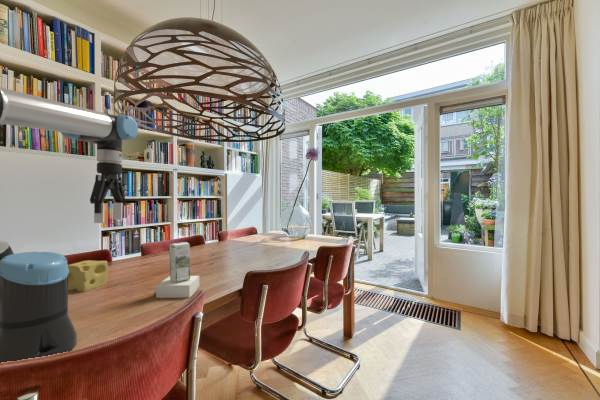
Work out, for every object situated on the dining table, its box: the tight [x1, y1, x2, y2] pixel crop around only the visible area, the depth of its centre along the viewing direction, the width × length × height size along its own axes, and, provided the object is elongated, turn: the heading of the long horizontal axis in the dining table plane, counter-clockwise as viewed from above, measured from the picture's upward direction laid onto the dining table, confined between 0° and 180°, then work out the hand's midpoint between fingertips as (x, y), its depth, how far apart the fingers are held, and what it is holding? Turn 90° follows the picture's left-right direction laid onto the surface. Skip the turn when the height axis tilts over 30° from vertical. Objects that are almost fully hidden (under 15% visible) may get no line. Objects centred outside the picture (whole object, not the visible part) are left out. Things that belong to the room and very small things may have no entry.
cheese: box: [68, 259, 109, 293], centre depth 110 cm, size 10×11×10 cm
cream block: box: [155, 275, 200, 299], centre depth 106 cm, size 12×12×5 cm
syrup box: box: [169, 241, 191, 282], centre depth 106 cm, size 6×6×14 cm
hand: (109, 221), depth 98 cm, fingers open, 13 cm apart
